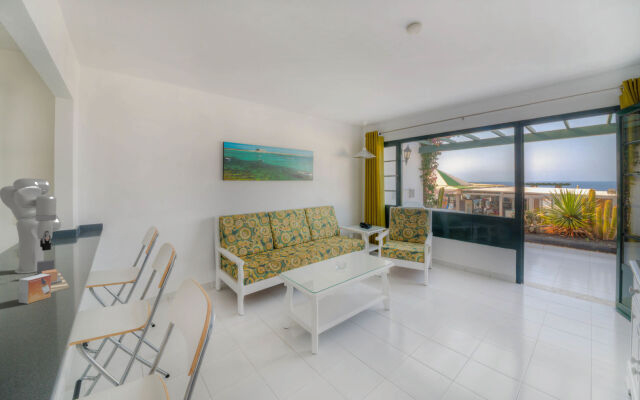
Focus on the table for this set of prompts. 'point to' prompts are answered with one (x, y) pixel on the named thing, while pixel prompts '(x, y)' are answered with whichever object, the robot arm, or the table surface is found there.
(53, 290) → the board
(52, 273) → the cube
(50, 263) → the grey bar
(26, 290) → the small box
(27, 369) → the table surface
